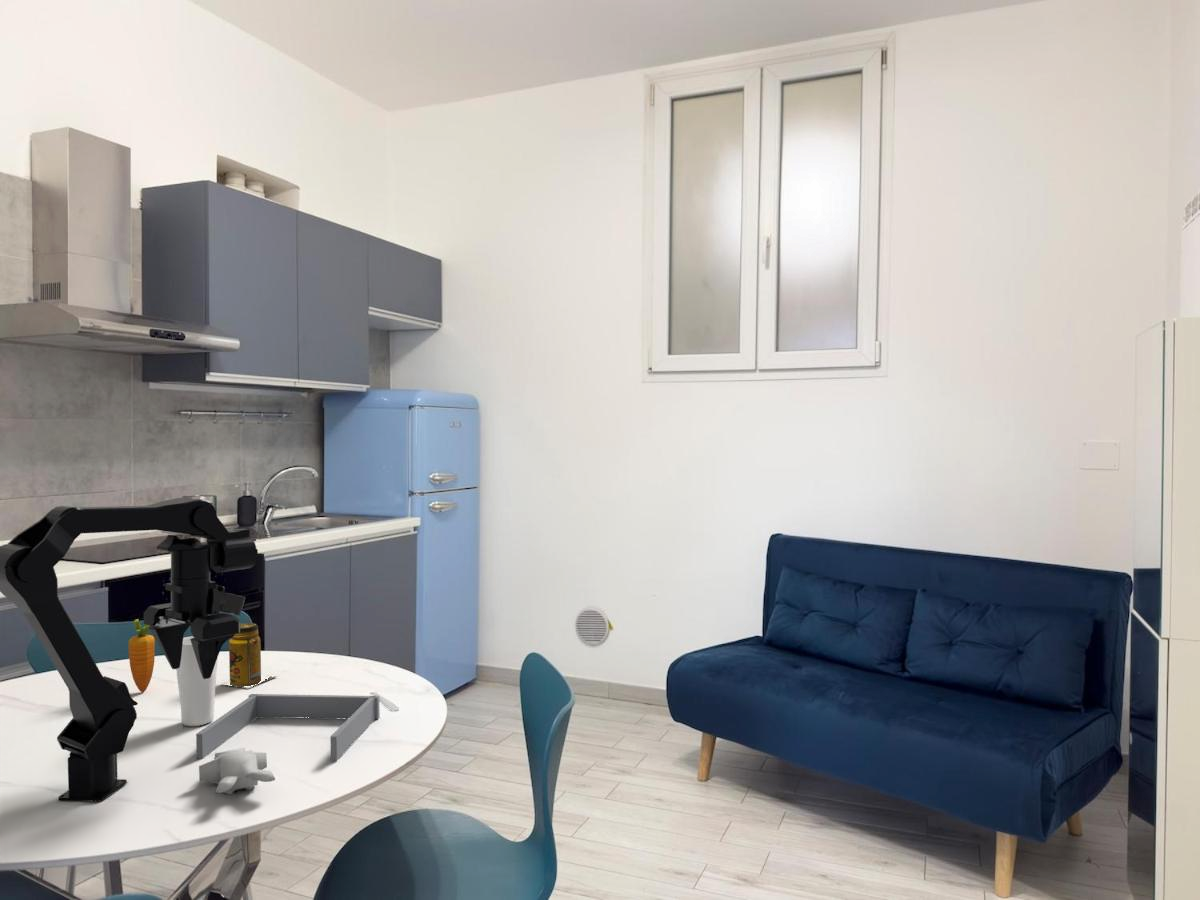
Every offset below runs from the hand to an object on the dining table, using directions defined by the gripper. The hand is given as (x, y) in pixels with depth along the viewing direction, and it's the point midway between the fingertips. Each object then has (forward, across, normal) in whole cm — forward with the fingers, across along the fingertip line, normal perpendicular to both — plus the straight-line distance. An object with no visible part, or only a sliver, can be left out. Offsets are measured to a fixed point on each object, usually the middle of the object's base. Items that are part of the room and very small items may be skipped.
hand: (191, 673), depth 138 cm
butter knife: (+14, +3, -39) cm, 41 cm away
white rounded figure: (+14, -16, +2) cm, 21 cm away
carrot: (+14, +40, -13) cm, 44 cm away
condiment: (+13, +29, -29) cm, 43 cm away
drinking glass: (+14, +15, -10) cm, 22 cm away
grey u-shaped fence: (+13, -5, -15) cm, 21 cm away
